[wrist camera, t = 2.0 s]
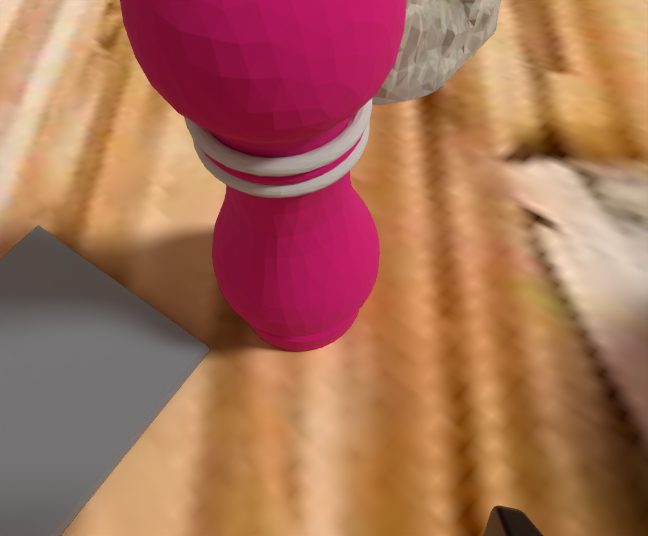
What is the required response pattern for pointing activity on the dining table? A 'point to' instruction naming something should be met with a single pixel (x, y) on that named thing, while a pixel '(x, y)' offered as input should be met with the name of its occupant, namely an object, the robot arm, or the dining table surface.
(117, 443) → the mat
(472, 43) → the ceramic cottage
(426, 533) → the dining table surface
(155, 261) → the dining table surface
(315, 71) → the pepper mill
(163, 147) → the dining table surface
